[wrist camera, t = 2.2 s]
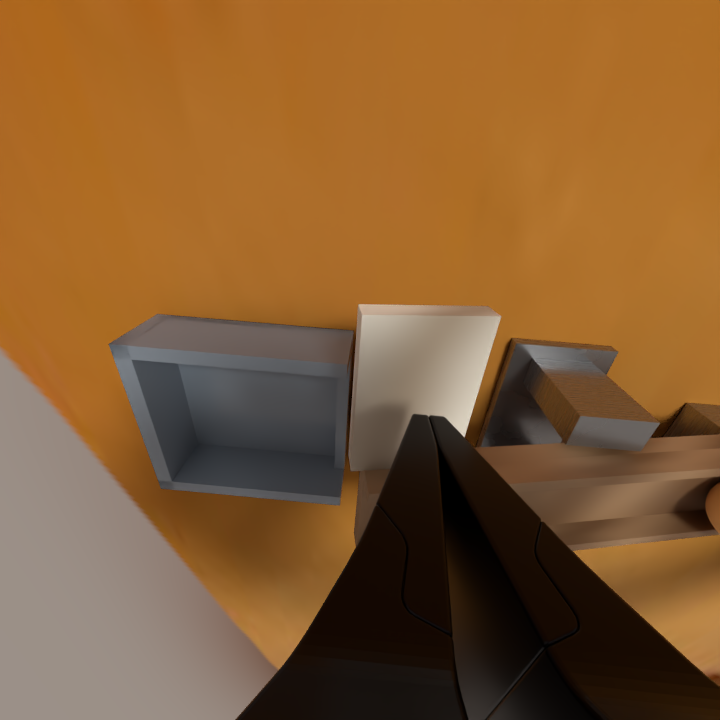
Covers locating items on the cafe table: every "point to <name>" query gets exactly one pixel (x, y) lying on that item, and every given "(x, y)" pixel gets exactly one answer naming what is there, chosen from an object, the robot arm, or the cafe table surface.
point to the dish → (240, 405)
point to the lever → (520, 462)
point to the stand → (575, 402)
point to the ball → (714, 506)
